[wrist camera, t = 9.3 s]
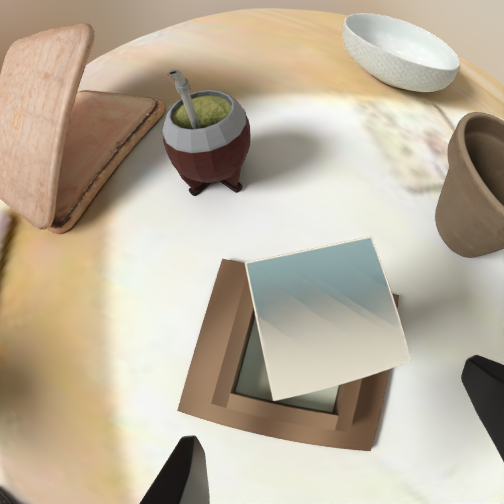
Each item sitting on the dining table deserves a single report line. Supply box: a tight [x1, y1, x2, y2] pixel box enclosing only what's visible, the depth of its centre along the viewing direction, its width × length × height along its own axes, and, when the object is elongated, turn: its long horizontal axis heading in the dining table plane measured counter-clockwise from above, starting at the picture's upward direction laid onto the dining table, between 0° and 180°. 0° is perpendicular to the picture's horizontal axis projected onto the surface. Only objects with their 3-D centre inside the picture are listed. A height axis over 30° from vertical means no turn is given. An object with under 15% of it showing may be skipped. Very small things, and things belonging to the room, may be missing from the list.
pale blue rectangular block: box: [245, 236, 411, 401], centre depth 14 cm, size 4×4×13 cm
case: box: [0, 23, 165, 234], centre depth 25 cm, size 20×21×16 cm
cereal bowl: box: [343, 13, 460, 92], centre depth 32 cm, size 17×17×7 cm
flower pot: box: [435, 112, 504, 257], centre depth 20 cm, size 12×11×10 cm
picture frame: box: [177, 259, 399, 451], centre depth 20 cm, size 14×12×2 cm
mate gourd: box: [162, 70, 250, 196], centre depth 21 cm, size 8×8×15 cm
